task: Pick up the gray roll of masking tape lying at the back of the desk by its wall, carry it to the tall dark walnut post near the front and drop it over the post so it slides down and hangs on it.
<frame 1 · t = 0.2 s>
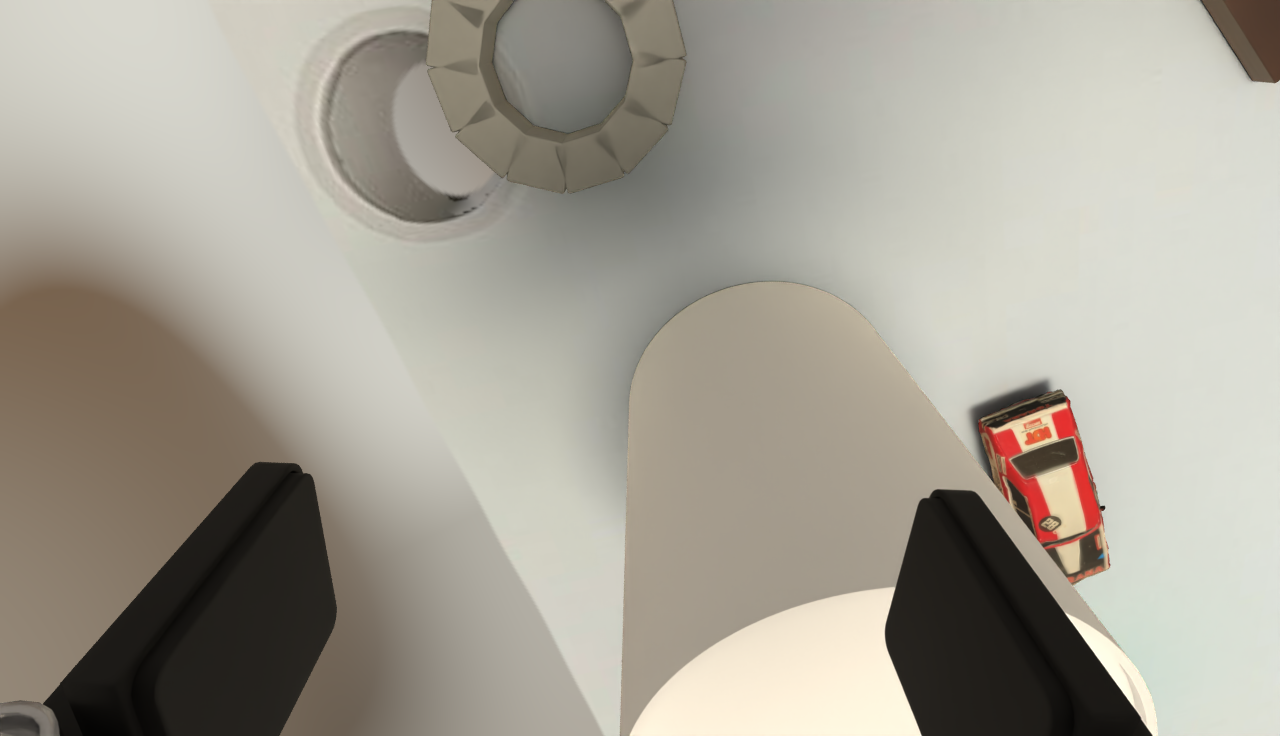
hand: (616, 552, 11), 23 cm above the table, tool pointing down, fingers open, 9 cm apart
race car: (1030, 477, 38), on the table
canister: (760, 405, 36), on the table
tape: (562, 59, 29), on the table
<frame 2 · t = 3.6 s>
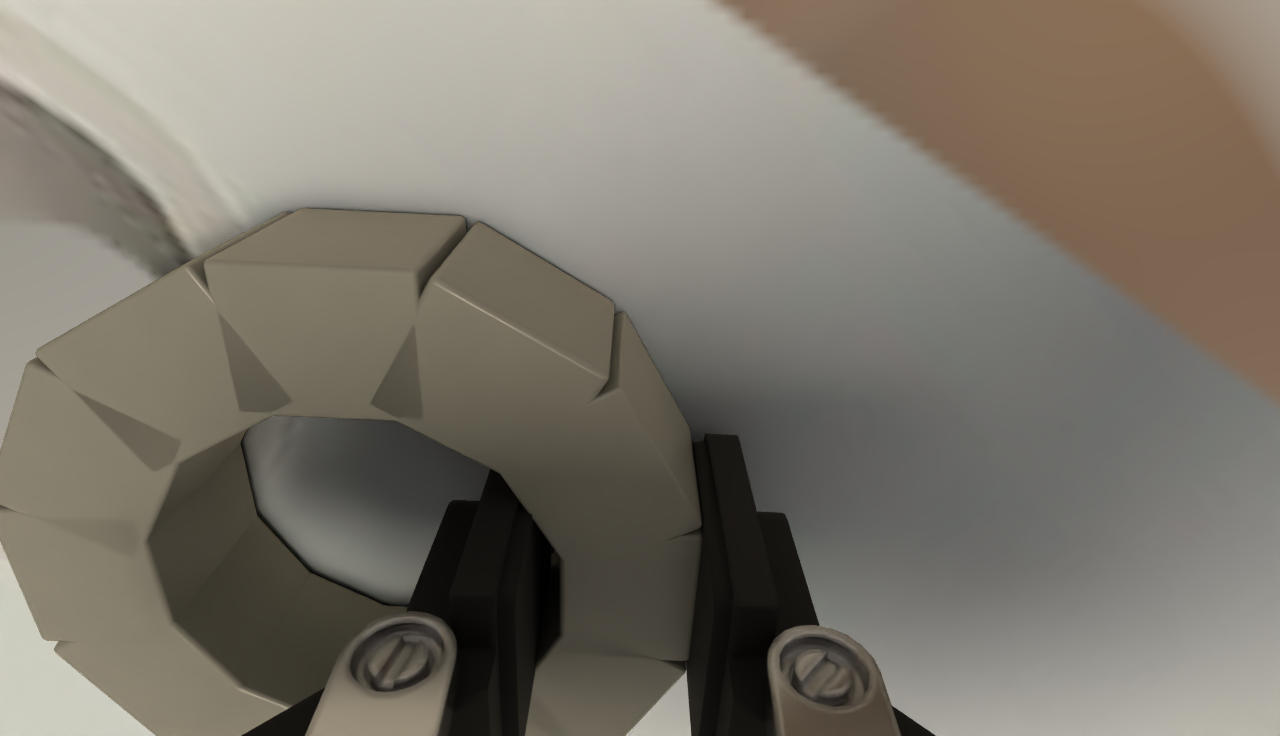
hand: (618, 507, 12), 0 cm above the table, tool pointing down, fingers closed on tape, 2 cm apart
tape: (412, 484, 12), on the table, touching gripper
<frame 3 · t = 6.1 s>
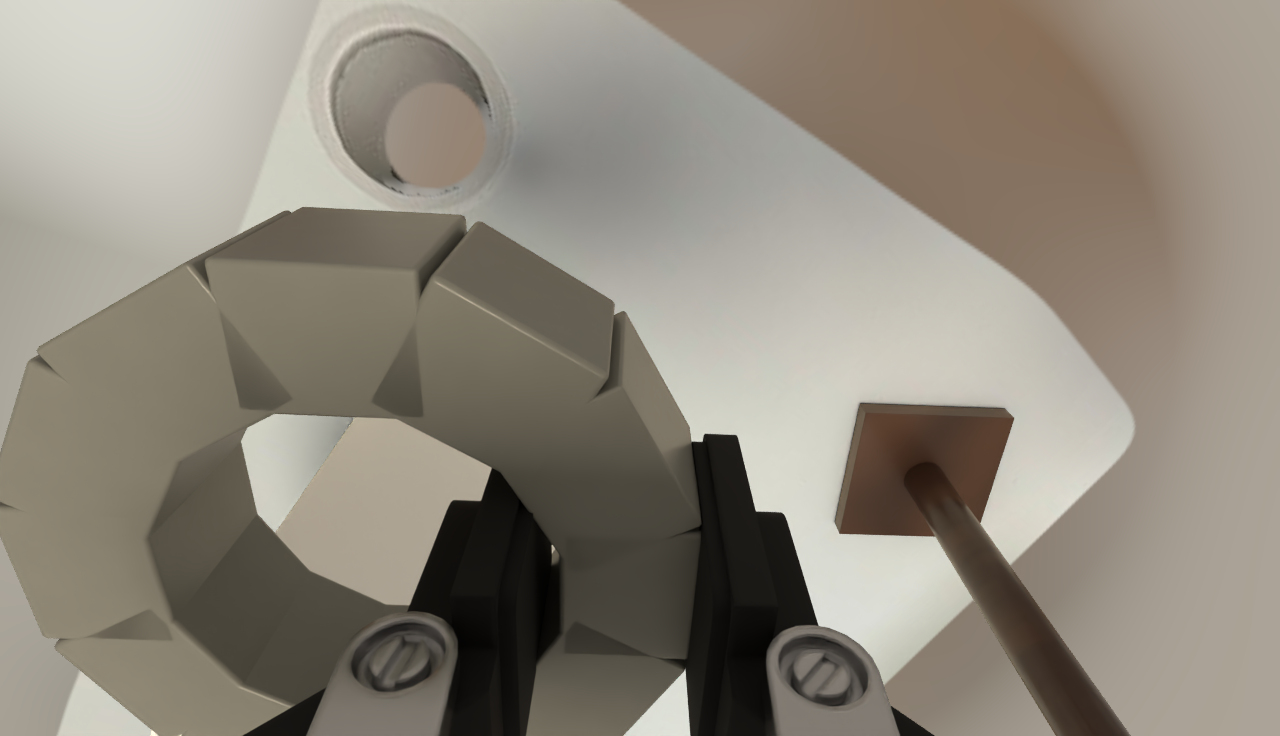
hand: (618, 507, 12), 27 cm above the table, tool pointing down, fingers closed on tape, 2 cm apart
canister: (458, 464, 44), on the table
tape: (413, 483, 12), point 27 cm above the table, touching gripper
post: (916, 467, 45), on the table
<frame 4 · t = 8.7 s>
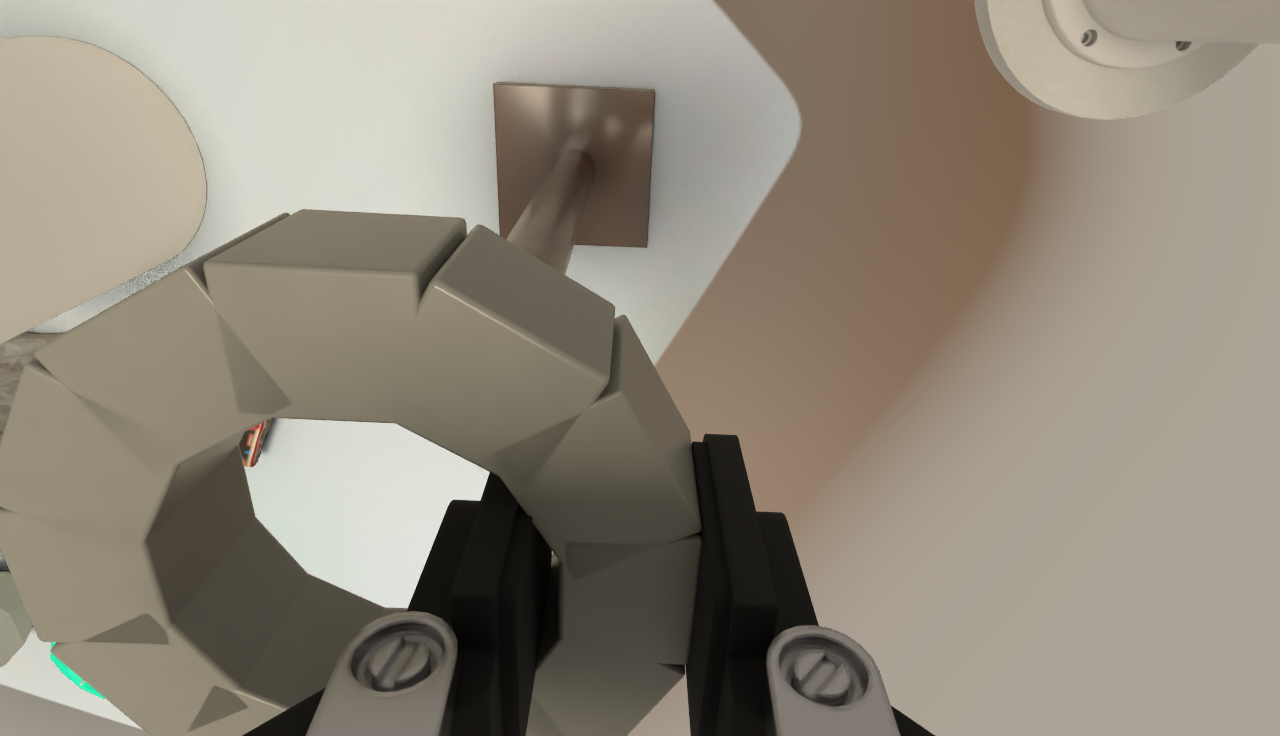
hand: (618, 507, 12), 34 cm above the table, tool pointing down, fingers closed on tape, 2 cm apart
apple: (13, 587, 57), on the table
race car: (255, 375, 48), on the table
canister: (91, 161, 42), on the table
tape: (411, 486, 12), point 33 cm above the table, touching gripper
candle: (191, 553, 55), on the table
decorative stone: (85, 394, 49), on the table
post: (575, 166, 42), on the table
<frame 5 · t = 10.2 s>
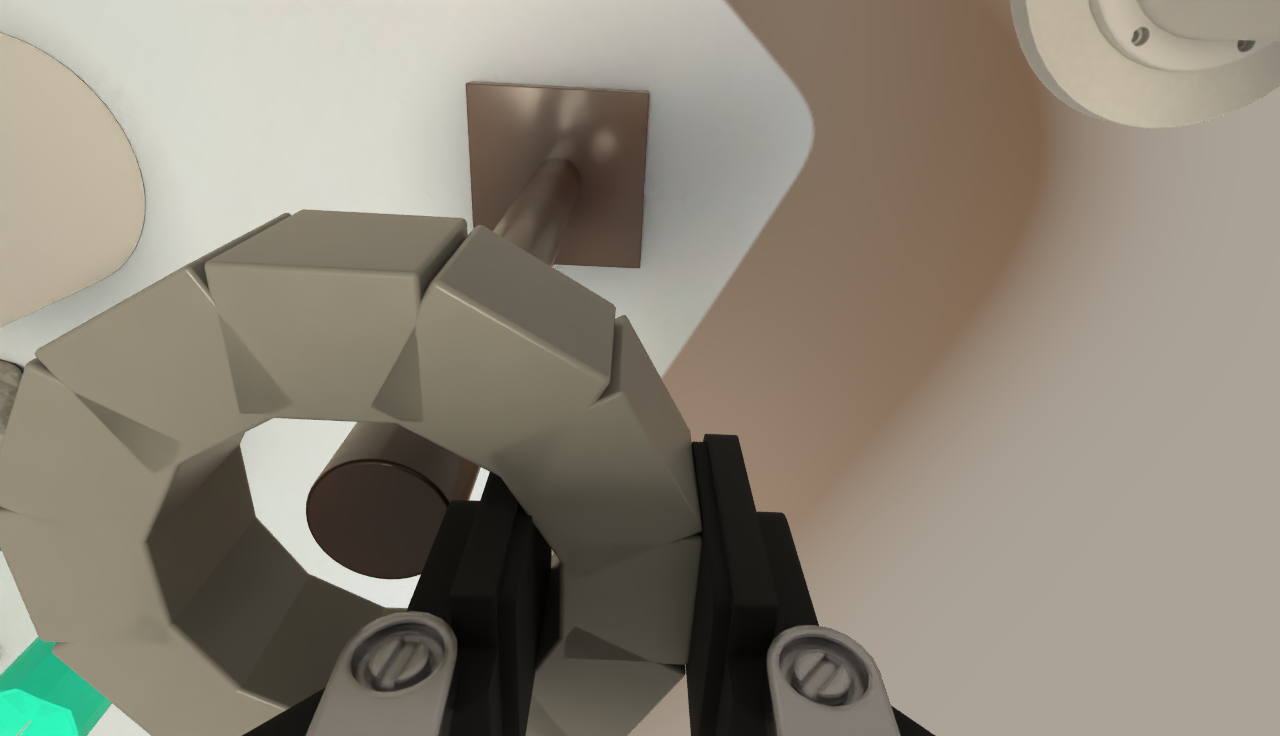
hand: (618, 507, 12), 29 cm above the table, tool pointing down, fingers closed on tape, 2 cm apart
canister: (14, 167, 37), on the table
tape: (412, 486, 12), point 28 cm above the table, touching gripper
candle: (140, 595, 51), on the table
decorative stone: (18, 423, 44), on the table
post: (559, 176, 38), on the table
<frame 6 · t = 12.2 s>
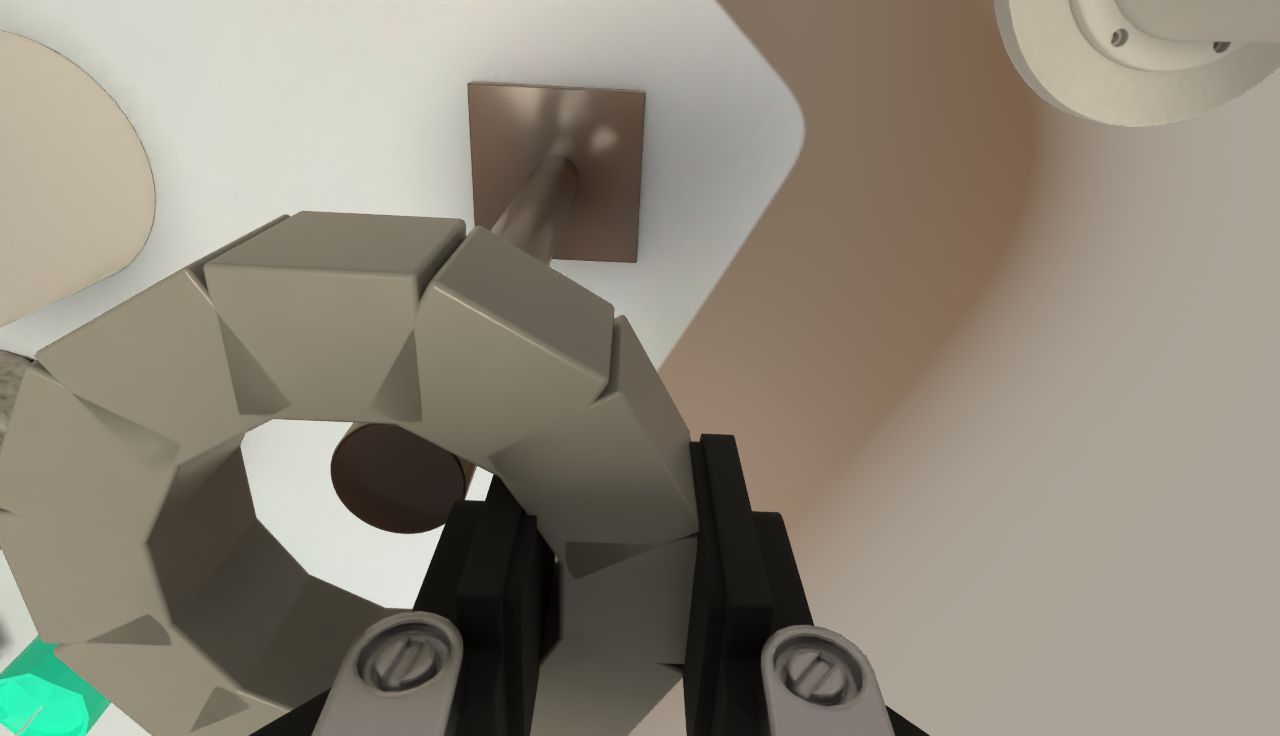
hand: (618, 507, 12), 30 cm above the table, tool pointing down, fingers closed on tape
canister: (27, 165, 39), on the table
tape: (412, 487, 12), point 29 cm above the table, touching gripper
candle: (147, 585, 52), on the table
decorative stone: (29, 416, 45), on the table
post: (558, 173, 39), on the table
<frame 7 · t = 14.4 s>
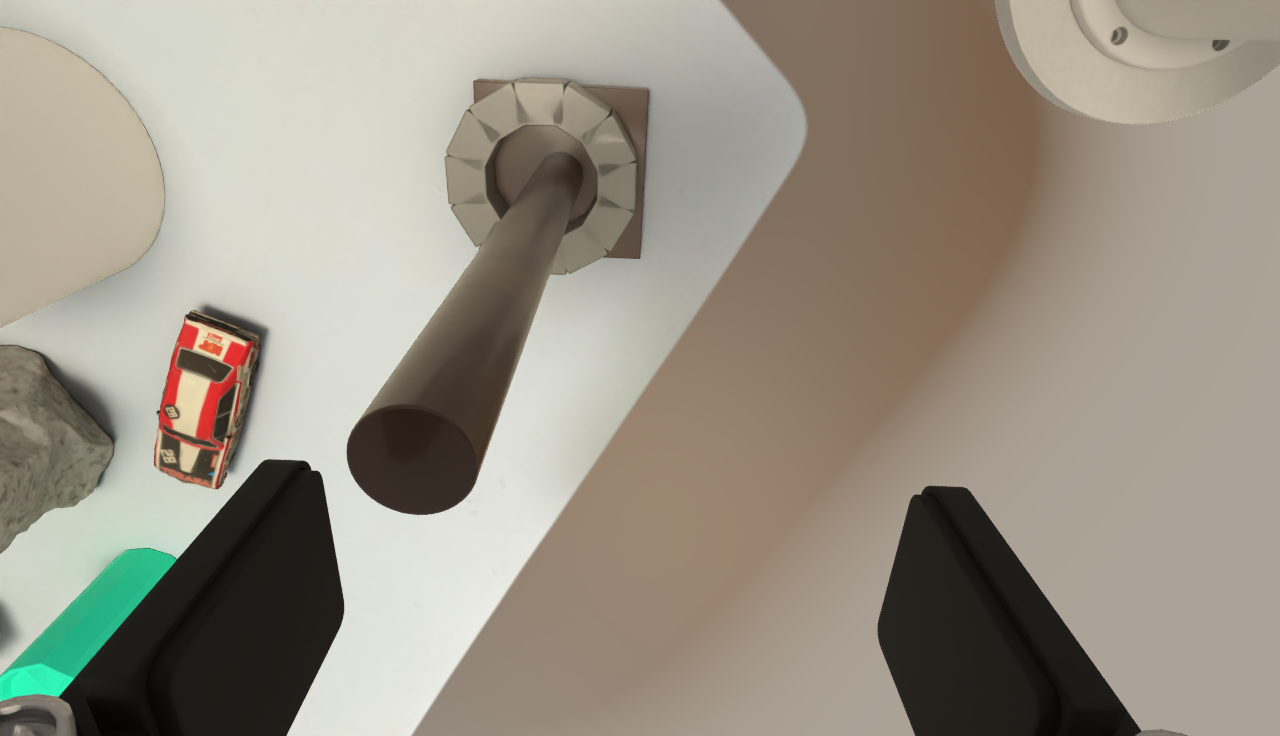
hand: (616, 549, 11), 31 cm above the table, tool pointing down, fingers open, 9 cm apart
race car: (220, 391, 45), on the table
canister: (39, 162, 39), on the table
tape: (547, 174, 38), point 1 cm above the table, touching post
candle: (155, 578, 52), on the table
decorative stone: (39, 410, 46), on the table
post: (563, 170, 39), on the table
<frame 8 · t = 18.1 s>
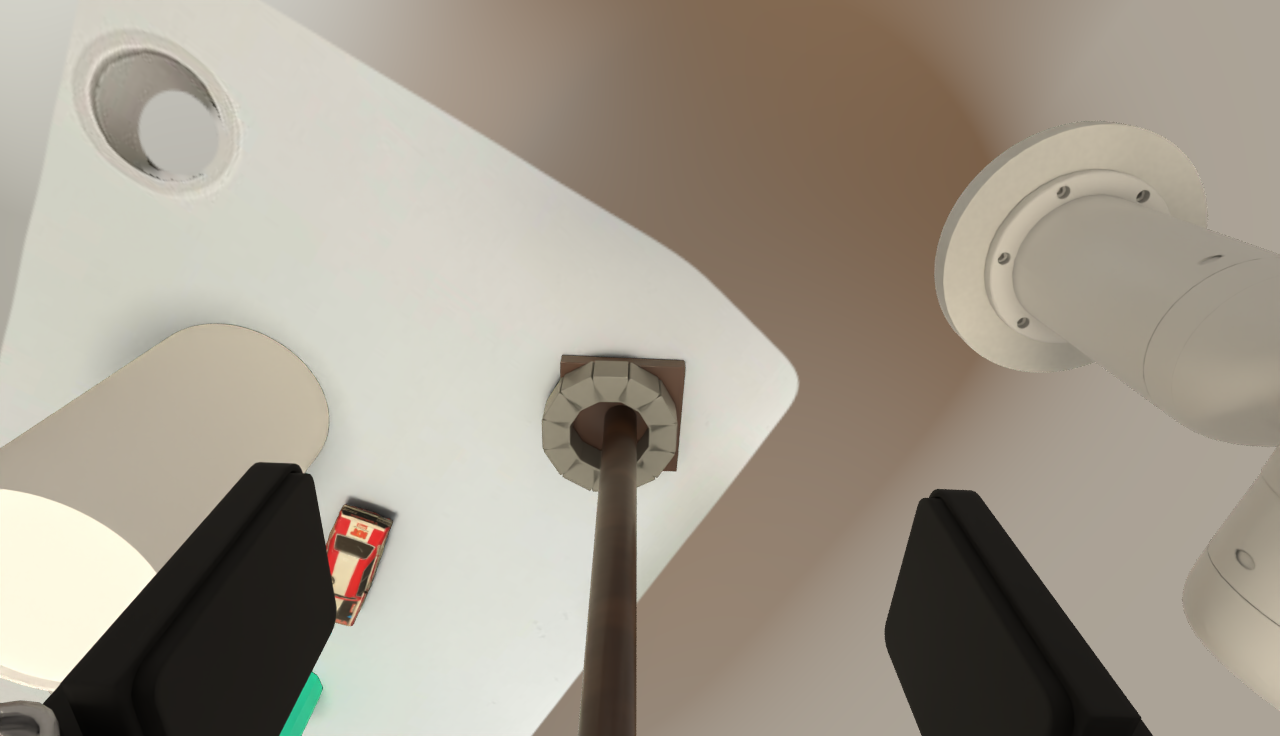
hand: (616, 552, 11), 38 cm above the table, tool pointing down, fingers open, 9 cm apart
race car: (355, 553, 60), on the table
canister: (239, 405, 54), on the table
tape: (610, 418, 53), point 1 cm above the table, touching post
candle: (291, 682, 67), on the table
post: (621, 411, 54), on the table
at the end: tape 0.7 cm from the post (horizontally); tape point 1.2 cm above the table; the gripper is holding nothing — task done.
